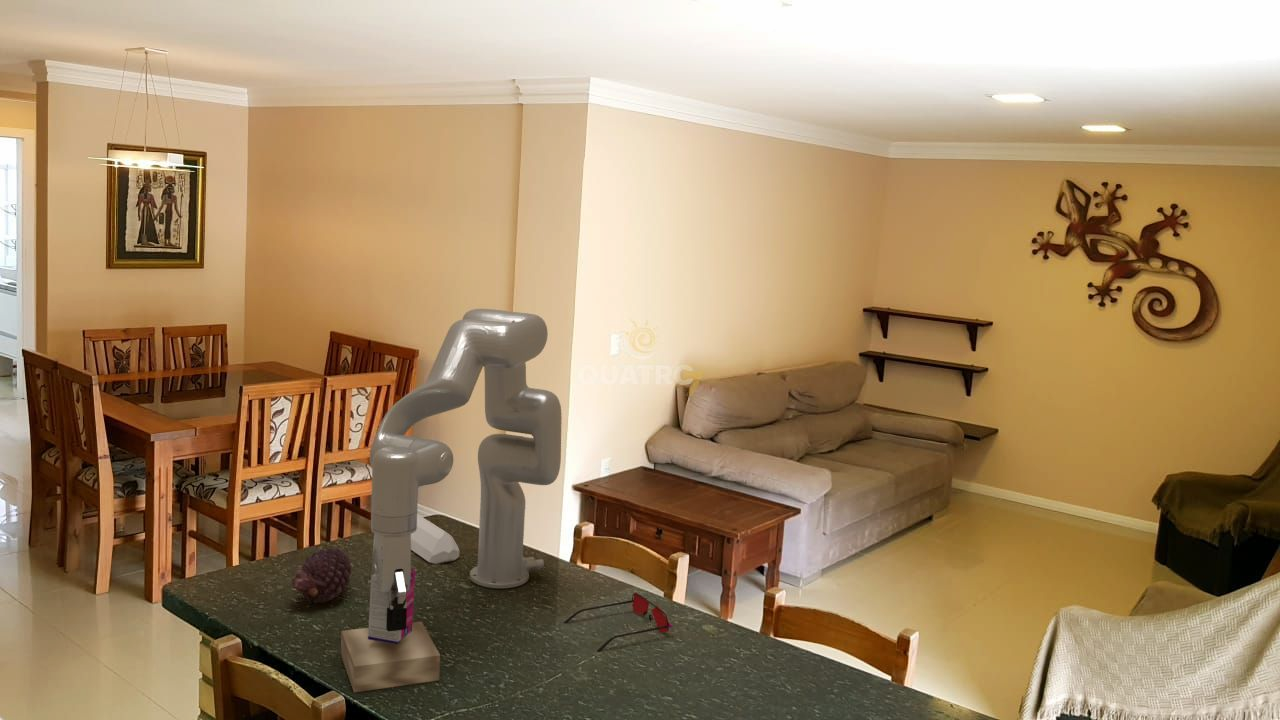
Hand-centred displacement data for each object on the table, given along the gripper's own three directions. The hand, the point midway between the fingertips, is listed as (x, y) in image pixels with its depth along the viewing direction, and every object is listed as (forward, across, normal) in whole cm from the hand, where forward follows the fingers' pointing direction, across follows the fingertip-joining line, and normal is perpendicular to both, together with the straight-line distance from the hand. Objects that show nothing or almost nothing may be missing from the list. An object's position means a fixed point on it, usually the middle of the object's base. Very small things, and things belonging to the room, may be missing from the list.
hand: (391, 618), depth 170 cm
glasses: (+10, -3, +44) cm, 45 cm away
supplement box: (+3, 0, 0) cm, 3 cm away
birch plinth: (+9, 0, 0) cm, 9 cm away
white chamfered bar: (+10, -56, +19) cm, 60 cm away
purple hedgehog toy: (+9, -33, -6) cm, 35 cm away
